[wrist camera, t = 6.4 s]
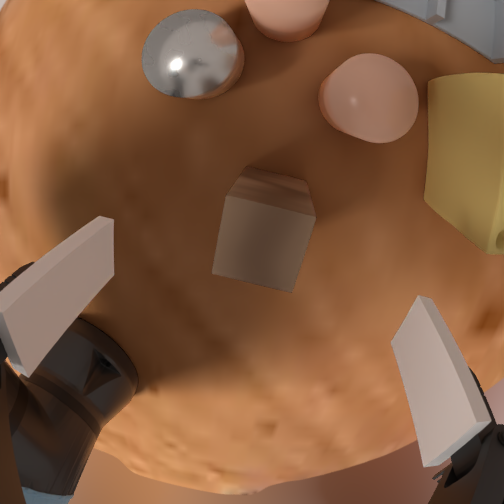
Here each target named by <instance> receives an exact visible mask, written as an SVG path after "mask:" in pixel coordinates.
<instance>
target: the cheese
mask: <svg viewBox="0 0 504 504" xmlns="http://www.w3.org/2000/svg"><path fill="white" fill-rule="evenodd" d="M424 201H425V202H426V203H427V204H428V205H429V206H430V207H431V208H432V209H433V210H434V211H435V212H436V213H438V214H439V215H440V216H441V217H442V218H444V219H445V220H446V221H447V222H449V223H450V224H451V225H453V226H454V227H455V228H456V229H457V230H458V231H459V232H460V233H461V234H463V235H464V236H465V237H466V238H467V239H468V240H470V241H471V242H472V243H474V244H475V245H476V246H477V247H478V248H480V249H481V250H482V251H483V252H485V253H486V254H504V74H499V73H463V74H454V75H447V76H441V77H437V78H434V79H432V80H429V81H428V162H427V173H426V182H425V190H424Z"/></svg>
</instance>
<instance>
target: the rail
mask: <svg viewBox="0 0 504 504" xmlns="http://www.w3.org/2000/svg"><path fill="white" fill-rule="evenodd" d="M375 1H378V2H380V3H383V4H385V5H388V6H390V7H393V8H395V9H398V10H400V11H402V12H405V13H407V14H409V15H411V16H413V17H415V18H418V19H420V20H422V21H424V22H426V23H428V24H430V25H432V26H434V27H436V28H438V29H439V30H441V31H443V32H445V33H447V34H448V35H450V36H452V37H454V38H455V39H457V40H459V41H461V42H462V43H464V44H466V45H467V46H469V47H470V48H472V49H473V50H475V51H477V52H478V53H480V54H481V55H483V56H484V57H486V58H487V59H488V60H490V61H491V62H493V63H494V64H497V63H504V0H375Z"/></svg>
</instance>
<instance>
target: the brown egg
mask: <svg viewBox="0 0 504 504" xmlns="http://www.w3.org/2000/svg"><path fill="white" fill-rule="evenodd" d="M318 102H319V107H320V110H321V113H322V115H323V116H324V118H325V119H326V121H327V122H328V123H329V124H330V125H331V126H332V127H334V128H335V129H337V130H339V131H341V132H344V133H346V134H349V135H352V136H354V137H357V138H360V139H362V140H365V141H369V142H373V143H387V142H391V141H394V140H396V139H399V138H400V137H402V136H403V135H404V134H406V133H407V132H408V131H409V130H410V128H411V127H412V125H413V124H414V122H415V120H416V117H417V114H418V107H419V100H418V93H417V89H416V86H415V84H414V82H413V80H412V78H411V77H410V75H409V74H408V73H407V71H406V70H405V69H404V68H403V67H402V66H401V65H400V64H398V63H397V62H395V61H394V60H392V59H390V58H388V57H386V56H383V55H379V54H373V53H366V54H359V55H356V56H353V57H351V58H349V59H348V60H346V61H345V62H344V63H342V64H341V65H340V66H339V67H338V68H336V69H335V70H334V71H333V72H332V73H331V74H329V75H328V76H327V77H326V78H325V79H324V81H323V82H322V84H321V86H320V89H319V94H318Z"/></svg>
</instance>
